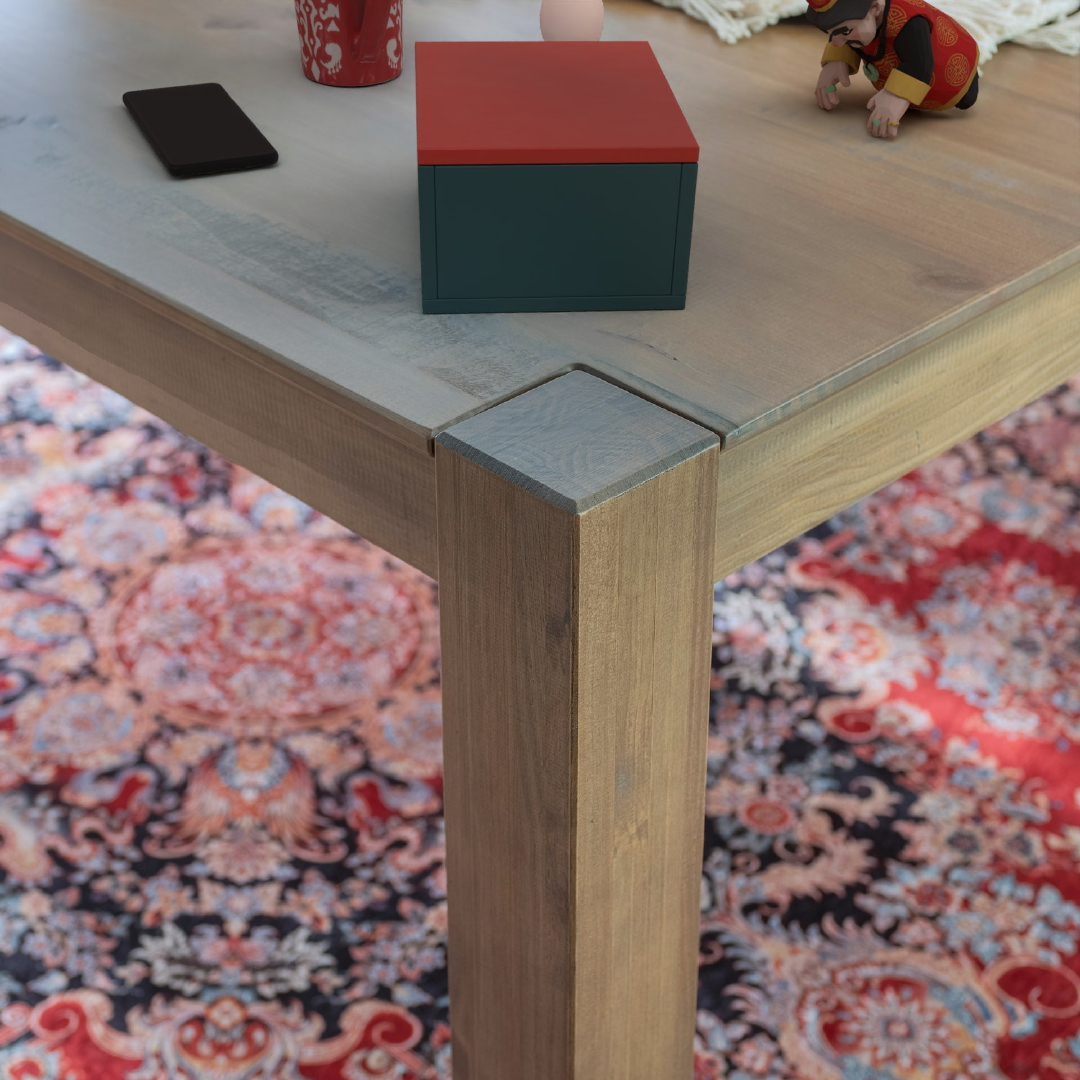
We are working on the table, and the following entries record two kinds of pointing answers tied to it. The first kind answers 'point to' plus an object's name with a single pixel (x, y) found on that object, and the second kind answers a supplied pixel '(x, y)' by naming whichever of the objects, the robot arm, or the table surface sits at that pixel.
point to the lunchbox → (555, 236)
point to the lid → (546, 104)
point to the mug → (350, 40)
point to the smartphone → (198, 129)
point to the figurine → (895, 57)
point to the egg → (571, 20)
